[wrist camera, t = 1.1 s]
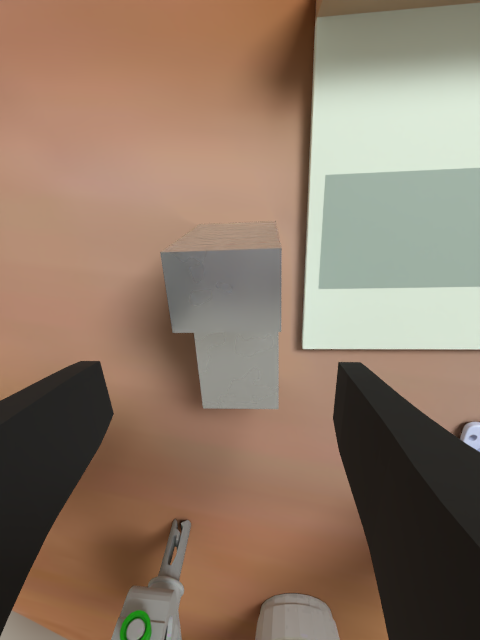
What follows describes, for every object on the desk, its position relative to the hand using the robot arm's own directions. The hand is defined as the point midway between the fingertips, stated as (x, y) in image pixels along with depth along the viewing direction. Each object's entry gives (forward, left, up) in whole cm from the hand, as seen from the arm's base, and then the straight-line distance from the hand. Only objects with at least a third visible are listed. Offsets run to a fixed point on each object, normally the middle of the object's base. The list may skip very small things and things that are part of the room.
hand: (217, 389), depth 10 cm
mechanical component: (-21, +6, -10) cm, 24 cm away
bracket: (0, 0, -10) cm, 10 cm away
